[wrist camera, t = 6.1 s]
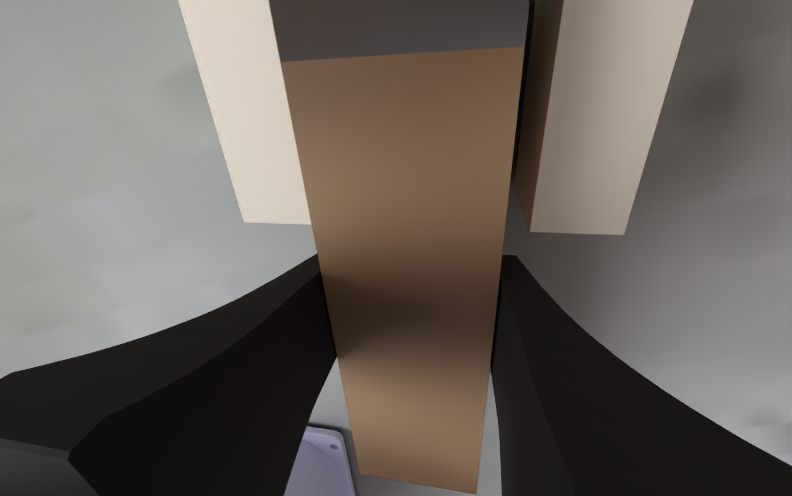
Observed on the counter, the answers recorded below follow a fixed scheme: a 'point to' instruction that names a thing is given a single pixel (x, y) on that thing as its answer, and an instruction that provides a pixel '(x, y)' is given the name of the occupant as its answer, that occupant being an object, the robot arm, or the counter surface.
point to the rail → (408, 210)
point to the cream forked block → (541, 120)
